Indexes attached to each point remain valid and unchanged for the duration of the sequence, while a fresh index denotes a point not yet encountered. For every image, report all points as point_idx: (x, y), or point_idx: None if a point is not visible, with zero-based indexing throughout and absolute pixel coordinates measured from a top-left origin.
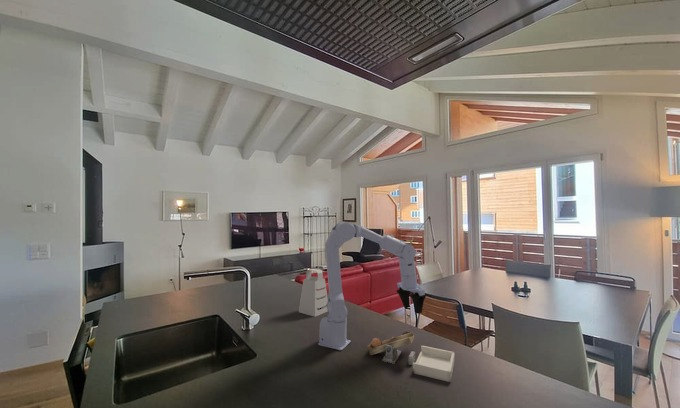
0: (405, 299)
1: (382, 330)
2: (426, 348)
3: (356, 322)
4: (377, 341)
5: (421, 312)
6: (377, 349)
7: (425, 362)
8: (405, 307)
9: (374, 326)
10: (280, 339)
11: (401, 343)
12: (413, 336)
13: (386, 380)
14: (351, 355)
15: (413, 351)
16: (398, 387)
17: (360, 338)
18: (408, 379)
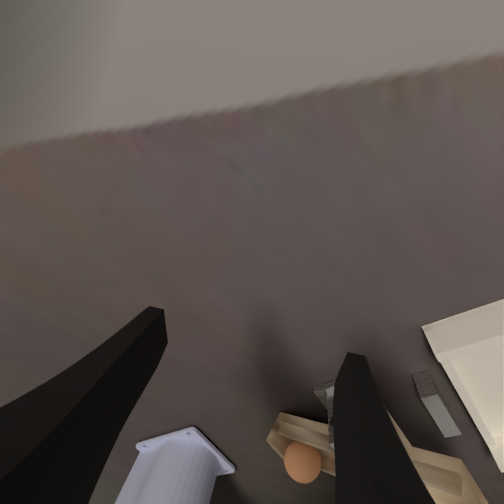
0: (118, 406)
1: (138, 288)
2: (465, 350)
3: (29, 315)
4: (315, 477)
5: (365, 363)
6: (329, 464)
7: (490, 380)
8: (164, 344)
9: (86, 286)
10: (114, 501)
11: (434, 497)
12: (464, 477)
13: None
14: (273, 465)
15: (429, 396)
16: (492, 496)
17: (179, 390)
18: (492, 463)
